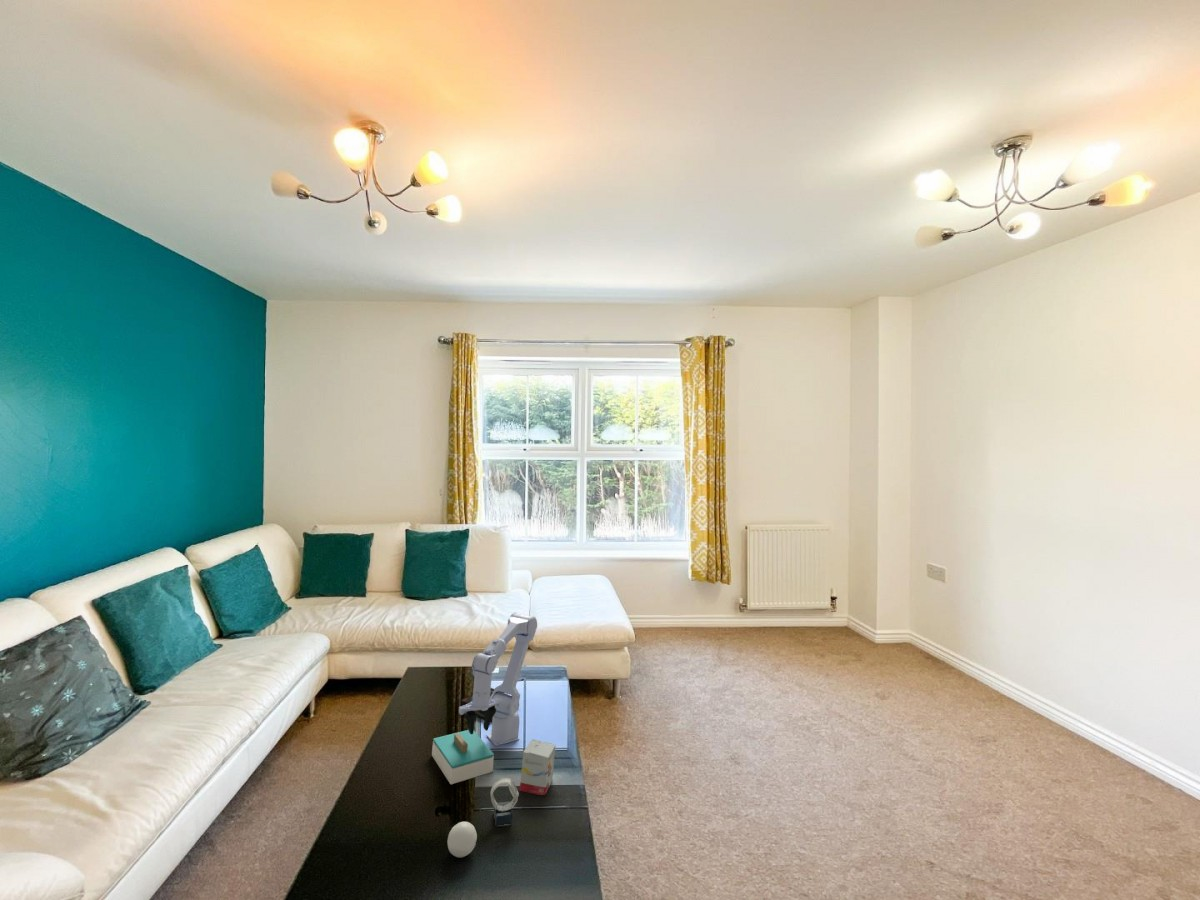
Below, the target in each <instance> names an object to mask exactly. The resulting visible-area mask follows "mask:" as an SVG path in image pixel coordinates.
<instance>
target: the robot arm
mask: <svg viewBox="0 0 1200 900" xmlns="http://www.w3.org/2000/svg"><path fill="white" fill-rule="evenodd" d="M537 628H538V621H537V618H536V616H530V615H526V614H521V613H518V612H513V613H511V615H510V616H509V617H508V619H507V626H505V629H504V630H503V632H502V633H501V634H500V635H499V637H498V638H494V639H493V640H491V642H490V643H489V645H488V646H486V647H485V649H484V650H483V652H480V653H477V654H476V655H475V656H474V658H473V660H472V664H471V669H472V675H473V677H474V679H473V691H472V695H473V700H472V702H470V703H468V704H466V705H464V706H460V705H459V707H458V714H459V715H460V716H462V715H464V716H465V718H466V719H465V720H466V722H467V727H468V730H469V733H470V734H473V732H474V731H475V723H476V718H477V717H476V715H475V714H474V711H476V710H482V711H484V720H483V730H485V731H489V727H490V725H491V731H490V732H489V733H487V734H486V736H487V738H488V739H489V740H490V741H491V743H492V744H493V745H494V746H501V745H504V744H507V743H512V742H515V741H519V740H520V737H519V734H520V733H519V729H520V715H519V713H518V710H519V707H520V699H521V694H520V692H519V690H518V689H517V684H518V680H519V677H520V674H521V672H522V668H523V666H524V665H523V664H524V661H525V658H526V655H527V651H528V648H529V645H530V642H531V641H533V640H534V637H535V634H536V631H537ZM513 638H515V643H514V647H513V649H512V653H511V656H510V659H509V662H508V665H507V667H506V671H505V675H504V678H503V681H502V683H501V684H499V685H498V686H495V688H493V689H494V692H493V694H492V695H491V697H490V690H491V688H492V678H493V677H492V676H493V672H494V671H495V670H496V667H497V665H498V663H499V659H500V658H501V657H502V656H503V655H504V653H505V652H506V650H507V645H508V644H509V642H510V641H512V640H513ZM502 693H505V694H508V695H510V696H508V695H505V694H502ZM492 718H493V720H492ZM491 720H492V722H491Z"/></svg>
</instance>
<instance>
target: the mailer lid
mask: <svg viewBox="0 0 1200 900" xmlns="http://www.w3.org/2000/svg"><path fill="white" fill-rule="evenodd" d="M432 740H433V741H434V742H435V744H436V745H437V747H438V748H439V750H440V751H441V753H442V754H443V755H444V757H445V758H446V760H447V761H448V763H449V764H450V766H451V767H452V768H454V767H458V766H461V765H465V764H468V763H472V762H475V761H479V760H482V759H486V758H489V757H492V756H493V757H494V756H495V753H494V752H493V751H492V750H491V748H490V747H489V746H488V745H487V744H486V743H485V742H484V740H483V739H482V738H481V737H480V736H479V734H478V733H477V732H476V731H475V730H474V732H473V734H470V733H469V729H467V730H466V729H465V730H463V731H458V732H454V733H451V734H446V735H443V736H438V737H435V738H433V739H432ZM433 741H432V742H433Z"/></svg>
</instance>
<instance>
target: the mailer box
mask: <svg viewBox="0 0 1200 900" xmlns="http://www.w3.org/2000/svg"><path fill="white" fill-rule="evenodd" d="M431 757H432V758H433V759H434V761H435V763H436V764H437V765H438V767H439V769H440V770H441V772H442V773H443V775H444V777H445V778H446V780H447V781H448V782H449V784H450V785H453V784H456V783H460V782H464V781H466V780H469V779H473V778H476V777H481V776H482V775H487V774H489V773H492V772H494V759H495V758H494V756H492V757H489V758H486V759H482V760H479V761H475V762H472V763H468V764H465V765H461V766H458V767H454V768H452V767H451V766H450V764H449V763H448V761H447V760H446V758H445V757H444V755H443V754H442V753H441V751H440V750H439V748H438V747H437V745H436V744H435V742H434V741H432V749H431Z"/></svg>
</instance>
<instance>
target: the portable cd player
mask: <svg viewBox="0 0 1200 900" xmlns="http://www.w3.org/2000/svg"><path fill="white" fill-rule="evenodd" d="M494 689H495V688H493V687H491V690H490V697H491V695H492V694H493V692H494ZM502 694H505V695H508V696H511V695H510V694H507V693H502ZM472 700H473V694H472V695H470V696H467V697H465V698H463V699H461V700H460V705H459V707H460V706H464V705H466V704H468V703H470V702H472ZM474 714H475V715H476V718H478V719H481V720H483V721H484V711H482V710H476V711H474ZM492 720H493V718H492ZM492 720H491V722H490V723H492Z"/></svg>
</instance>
